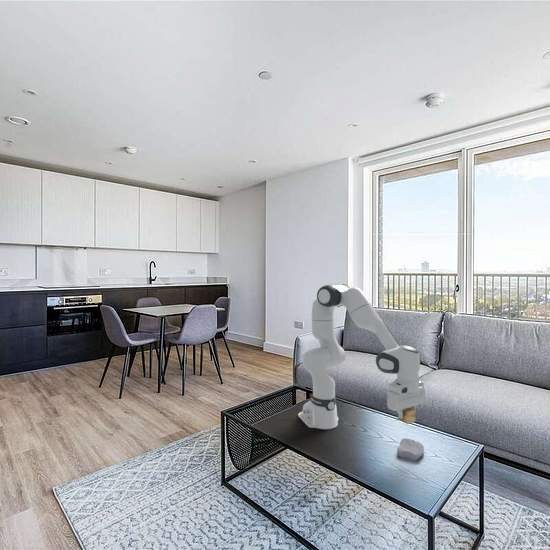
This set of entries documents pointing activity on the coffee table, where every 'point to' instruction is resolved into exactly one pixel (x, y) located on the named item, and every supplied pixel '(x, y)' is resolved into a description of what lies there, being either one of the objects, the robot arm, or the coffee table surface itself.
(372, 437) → the coffee table surface
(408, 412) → the oak cube
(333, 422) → the robot arm
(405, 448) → the stone block
